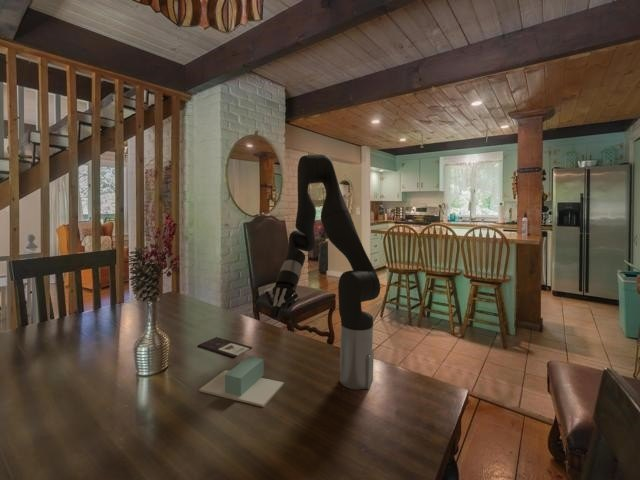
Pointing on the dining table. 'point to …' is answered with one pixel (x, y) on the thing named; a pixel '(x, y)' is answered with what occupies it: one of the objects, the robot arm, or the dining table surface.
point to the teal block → (244, 376)
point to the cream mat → (254, 395)
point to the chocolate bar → (225, 347)
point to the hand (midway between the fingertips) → (274, 318)
